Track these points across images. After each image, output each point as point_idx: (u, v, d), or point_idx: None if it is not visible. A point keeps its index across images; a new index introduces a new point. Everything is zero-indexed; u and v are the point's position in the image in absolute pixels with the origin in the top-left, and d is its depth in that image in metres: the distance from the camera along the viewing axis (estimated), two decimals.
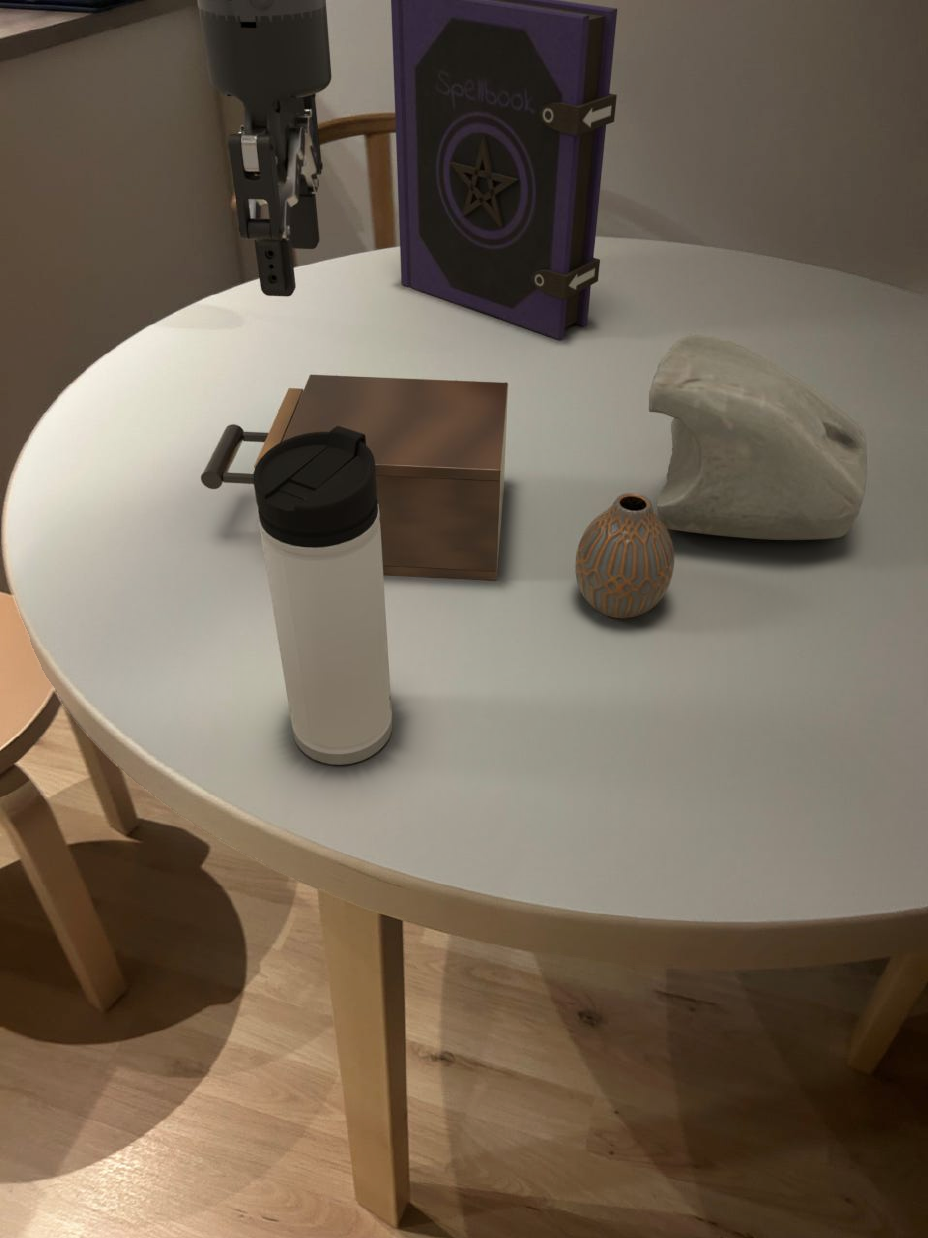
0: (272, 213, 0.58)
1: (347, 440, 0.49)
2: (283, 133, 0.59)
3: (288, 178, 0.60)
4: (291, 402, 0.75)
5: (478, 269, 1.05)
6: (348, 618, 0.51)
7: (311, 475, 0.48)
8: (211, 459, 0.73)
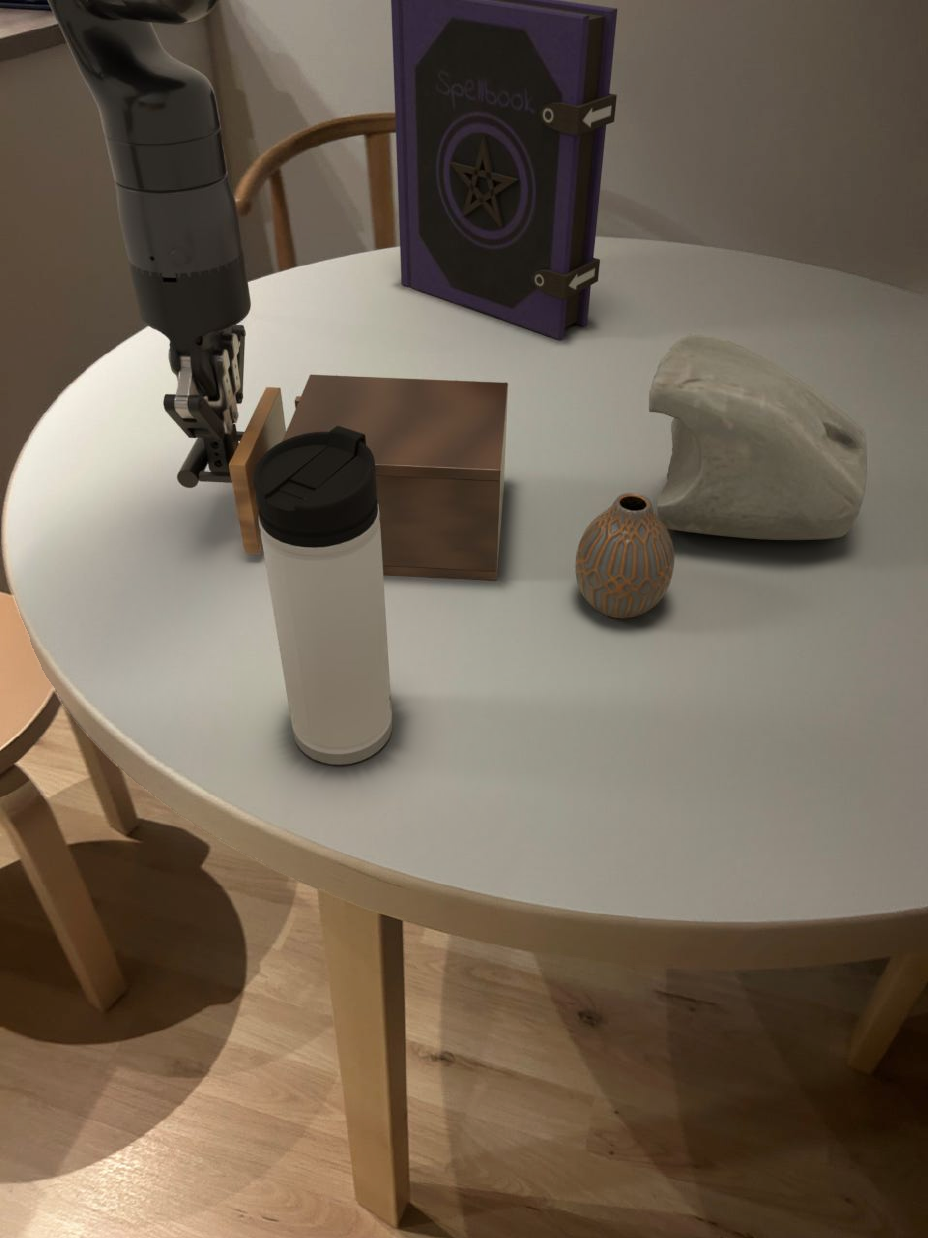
0: (213, 432, 0.68)
1: (347, 440, 0.49)
2: (206, 359, 0.66)
3: (221, 396, 0.69)
4: (268, 401, 0.75)
5: (478, 269, 1.05)
6: (348, 618, 0.51)
7: (311, 475, 0.48)
8: (187, 458, 0.73)
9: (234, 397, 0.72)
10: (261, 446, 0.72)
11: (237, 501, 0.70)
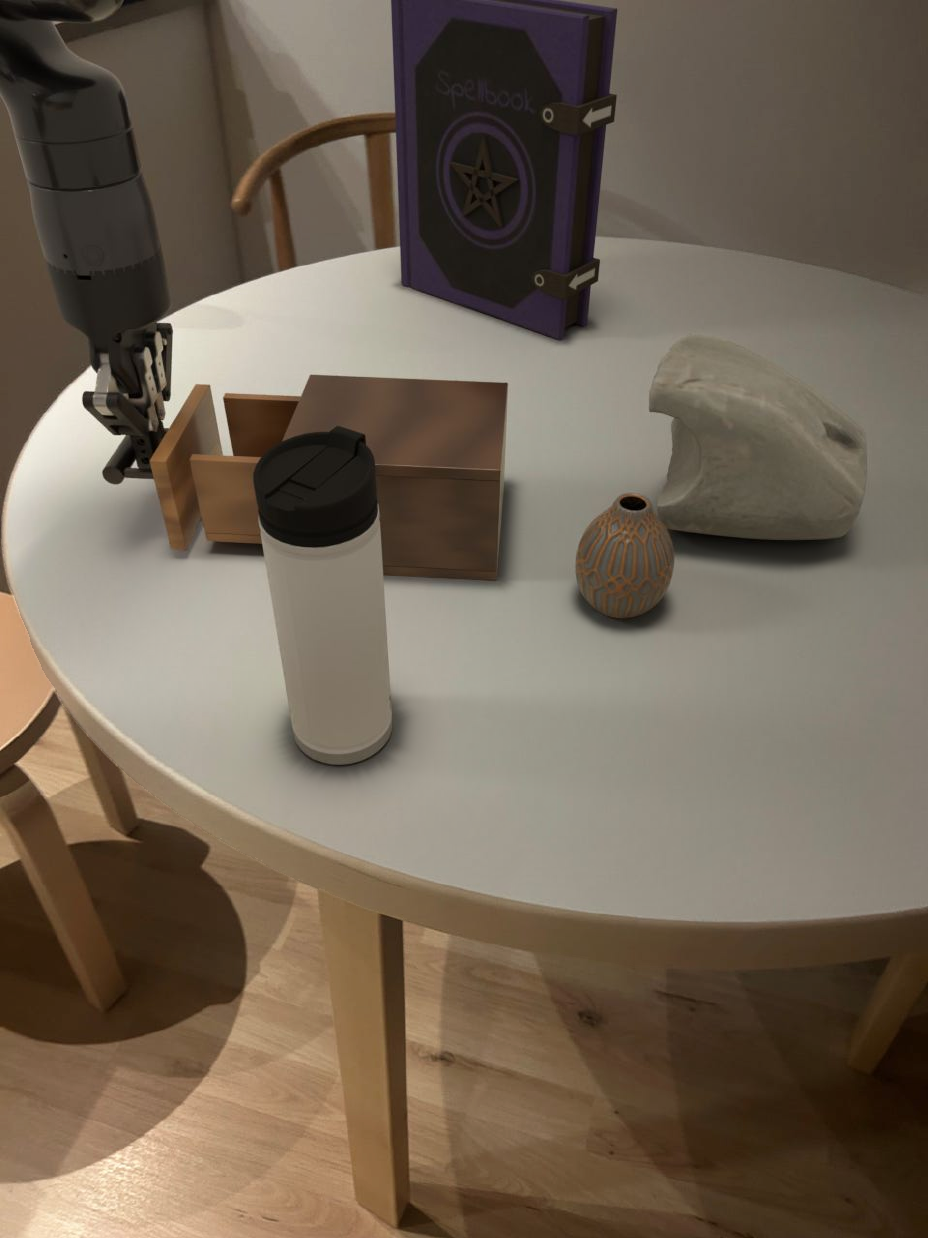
0: (135, 429, 0.69)
1: (347, 440, 0.49)
2: (126, 356, 0.66)
3: (144, 393, 0.69)
4: (196, 398, 0.75)
5: (478, 269, 1.05)
6: (348, 618, 0.51)
7: (311, 475, 0.48)
8: (113, 454, 0.73)
9: (160, 395, 0.73)
10: (186, 443, 0.72)
11: (160, 498, 0.70)
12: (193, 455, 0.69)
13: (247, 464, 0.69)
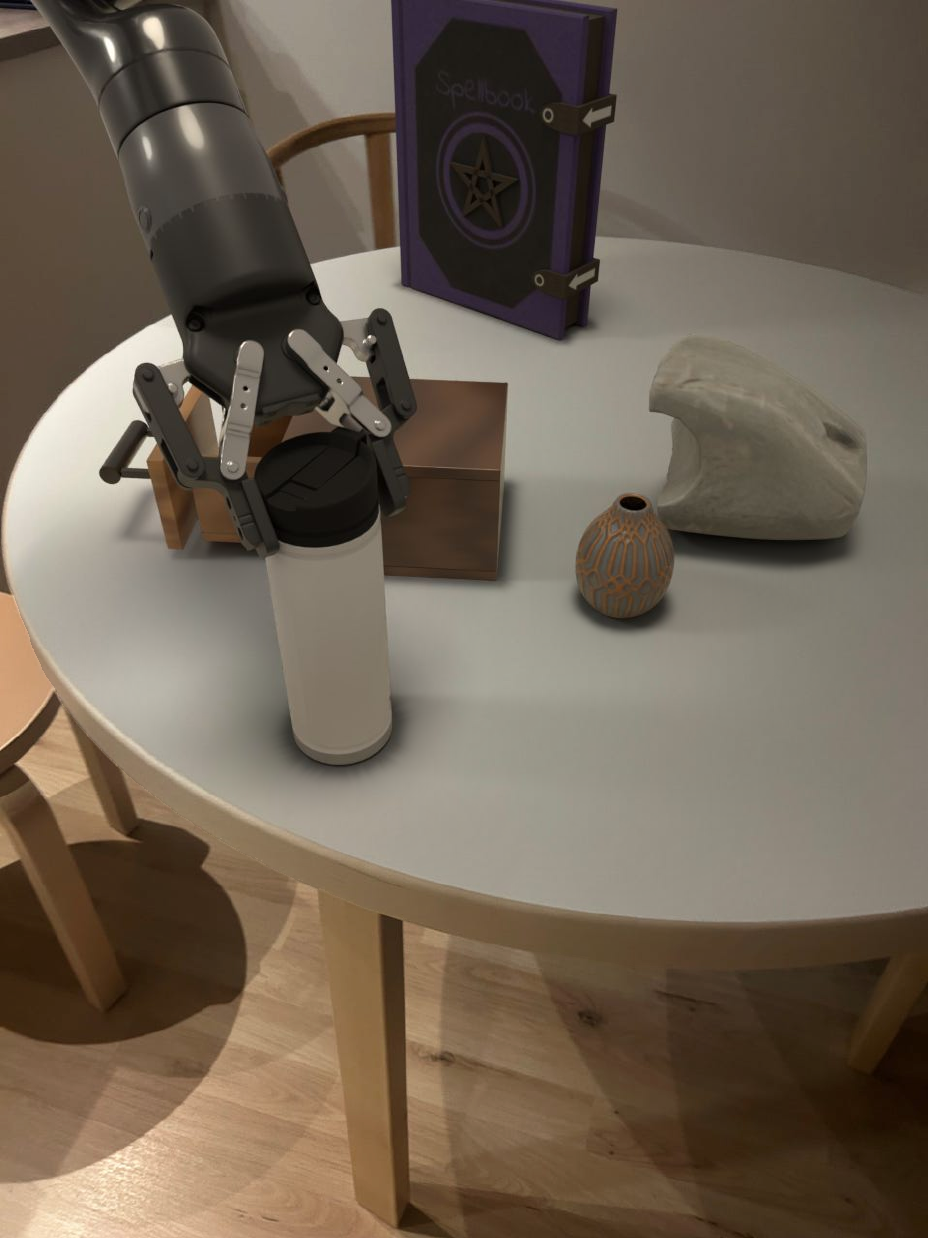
0: (170, 450, 0.46)
1: (348, 440, 0.49)
2: (216, 354, 0.47)
3: (229, 406, 0.47)
4: (193, 398, 0.75)
5: (478, 269, 1.05)
6: (349, 618, 0.51)
7: (312, 475, 0.48)
8: (110, 454, 0.73)
9: (365, 403, 0.49)
10: None
11: (156, 498, 0.70)
12: None
13: None
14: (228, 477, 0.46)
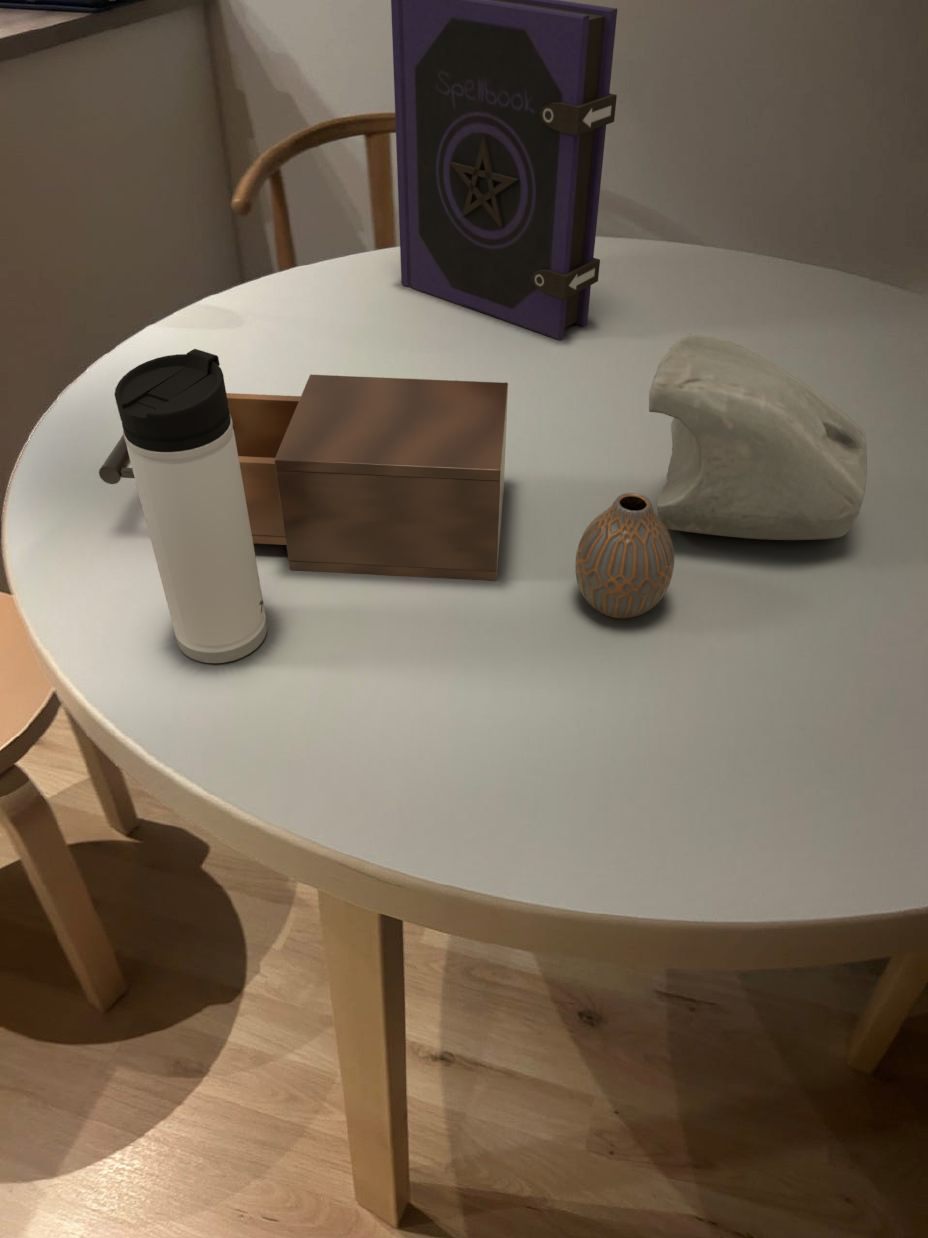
0: None
1: (201, 360, 0.56)
2: None
3: None
4: None
5: (478, 269, 1.05)
6: (207, 520, 0.58)
7: (167, 389, 0.55)
8: (110, 454, 0.73)
9: None
10: None
11: None
12: None
13: (244, 464, 0.69)
14: None
